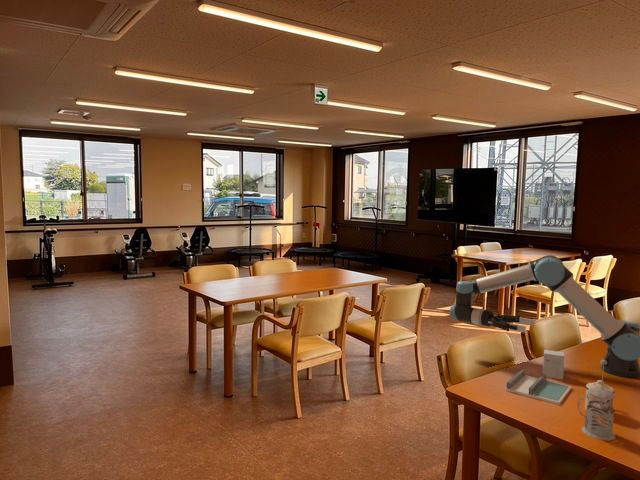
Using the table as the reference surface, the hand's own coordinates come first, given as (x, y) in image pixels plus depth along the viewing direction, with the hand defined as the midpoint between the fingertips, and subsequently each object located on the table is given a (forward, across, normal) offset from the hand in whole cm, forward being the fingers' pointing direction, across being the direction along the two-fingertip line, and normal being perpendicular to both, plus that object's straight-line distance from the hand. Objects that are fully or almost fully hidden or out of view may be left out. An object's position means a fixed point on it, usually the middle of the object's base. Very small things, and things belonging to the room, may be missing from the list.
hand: (530, 326), depth 215 cm
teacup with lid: (+32, +25, -20) cm, 46 cm away
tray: (+10, +20, -20) cm, 30 cm away
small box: (+11, 0, -20) cm, 23 cm away
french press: (+34, +45, -20) cm, 60 cm away
